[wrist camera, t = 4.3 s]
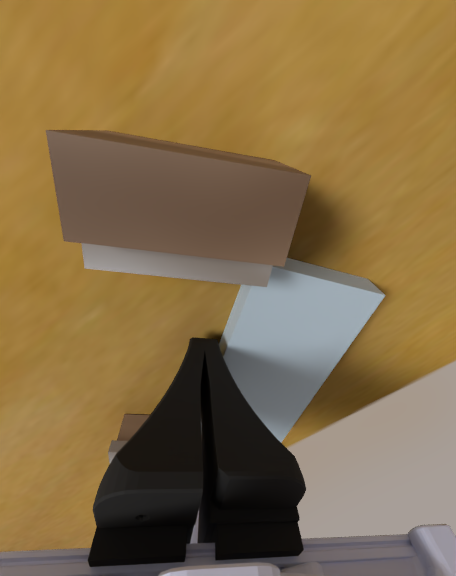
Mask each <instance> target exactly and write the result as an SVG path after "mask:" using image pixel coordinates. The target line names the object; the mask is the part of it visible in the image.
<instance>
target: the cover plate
mask: <svg viewBox="0 0 456 576" xmlns="http://www.w3.org/2000/svg"><path fill="white" fill-rule="evenodd" d="M384 297H385V294H384V293H382V292H381V291H380V290H379V289H378V288H377V287H376V286H375V285H374V284H373V283H372V282H370V281H369V280H368V279H366V278H362V277H358V276H355V275H351V274H347V273H343V272H340V271H336V270H332V269H328V268H324V267H321V266H317V265H313V264H309V263H306V262H302V261H298V260H294V259H290V258H286V262H285V265H284V267H282V266H274V265H273V266H272V270H271V274H270V277H269V281H268V285H267V287H260V286H250V285H241V287H240V290H239V292H238V295H237V298H236V300H235V303H234V306H233V308H232V311H231V314H230V316H229V319H228V322H227V324H226V327H225V329H224V332H223V335H222V337H221V340H220V343H219V347H220V350H221V353H222V355H223V358H224V360H225V363H226V365H227V367H228V369H229V371H230V373H231V375H232V377H233V379H234V381H235V383H236V384H237V386H238V388H239V390H240V391H241V393H242V394H243V396H244V398H245V399H246V401H247V402H248V404H249V405H250V406H251V408H252V409H253V410H254V412H255V413H256V414H257V416H258V417H259V418H260V419H261V421H262V422H263V423H264V424H265V426H266V427H267V428H268V429H269V430H270V431H271V433H272V434H273V435H274V436H275V437H276V438H277V439H278V440H279V441H280V442H282V441H283V439H284V438H285V436H286V435H287V434H288V432H289V431H290V429H291V428H292V427H293V425H294V424H295V422H296V421H297V419H298V418H299V417H300V415H301V414H302V412H303V411H304V410H305V408H306V407H307V405H308V404H309V403H310V401H311V400H312V398H313V397H314V395H315V394H316V393H317V391H318V390H319V388H320V387H321V386H322V384H323V383H324V381H325V380H326V379H327V377H328V376H329V374H330V373H331V371H332V370H333V369H334V367H335V366H336V364H337V363H338V362H339V360H340V359H341V357H342V356H343V355H344V353H345V352H346V350H347V349H348V347H349V346H350V345H351V343H352V342H353V340H354V339H355V338H356V336H357V335H358V333H359V332H360V331H361V329H362V328H363V326H364V325H365V323H366V322H367V321H368V319H369V318H370V316H371V315H372V314H373V312H374V311H375V309H376V308H377V307H378V305H379V304H380V302H381V301H382V299H383V298H384ZM201 435H202V434H201Z"/></svg>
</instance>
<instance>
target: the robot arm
mask: <svg viewBox="0 0 456 576" xmlns="http://www.w3.org/2000/svg"><path fill="white" fill-rule="evenodd" d="M201 434H202V442H201ZM305 491H306V487H305V482H304V478H303V475H302V473H301V470H300V468H299V465H298V463H297V461H296V458H295V456H294V455H293V454H292V453H291V452H290V451H288V449H287V448H286V447H285V446H284V445H283V444H282V443H281V442H280V441H279V440H278V439H277V438H276V437H275V436H274V435H273V434H272V433H271V431H270V430H269V429H268V428H267V427H266V426H265V424H264V423H263V422H262V421H261V419H260V418H259V417H258V416H257V414H256V413H255V412H254V410H253V409H252V408H251V406H250V405H249V404H248V402H247V401H246V399H245V398H244V396H243V394H242V393H241V391H240V390H239V388H238V386H237V384H236V383H235V381H234V379H233V377H232V375H231V373H230V371H229V369H228V367H227V365H226V363H225V360H224V358H223V355H222V353H221V350H220V347H219V344H218V341H217V340H216V339H205V338H191V339H190V342H189V346H188V350H187V353H186V355H185V358H184V360H183V362H182V364H181V367H180V369H179V371H178V373H177V374H176V376H175V378H174V380H173V382H172V384H171V385H170V387H169V389H168V390H167V392H166V393H165V395H164V396H163V398H162V399H161V401H160V402H159V404H158V405H157V407H156V408H155V409H154V411H153V412H152V413H151V415H150V416H149V417H148V418H147V420H146V421H145V422H144V423H143V425H142V426H141V427H140V428H139V429H138V431H137V432H136V433H135V434H134V435H133V436H132V437H131V438H130V440H129V441H128V442H127V443H126V444H125V445H124V446H123V447H122V448H121V449H120V450H119V451H118V452H117V453H116V454H115V456H114V458H113V460H112V461H111V463H110V465H109V467H108V469H107V471H106V472H105V474H104V476H103V479H102V481H101V483H100V486H99V488H98V491H97V495H96V498H95V502H94V505H93V513H94V517H95V521H96V525H97V528H96V531H95V535H94V539H93V542H92V546H91V548H78V549H55V550H31V551H8V552H0V576H456V536H455V535H454V533H453V531H452V530H451V528H450V526H449V525H446V524H437V525H420V526H417V527H415V528H413V529H412V530H410V531H409V532H408V534H403V535H380V536H356V537H334V538H310V539H301V535H300V531H299V527H298V521H299V514H298V510H297V505H298V503H299V502H300V500H301V499H302V497H303V496H304V493H305Z"/></svg>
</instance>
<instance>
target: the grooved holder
mask: <svg viewBox="0 0 456 576" xmlns="http://www.w3.org/2000/svg"><path fill="white" fill-rule="evenodd" d="M46 134H47V140H48V147H49V153H50V159H51V165H52V171H53V177H54V183H55V189H56V196H57V202H58V208H59V214H60V220H61V226H62V232H63V239H64V241H68V242H76V243H82V250H83V258H84V266H85V268H86V269H96V270H106V271H115V272H125V273H135V274H144V275H154V276H164V277H173V278H183V279H192V280H202V281H212V282H221V283H231V284H241V285H250V286H260V287H267V285H268V281H269V277H270V274H271V270H272V266H273V265H274V266H282V267H284V265H285V262H286V258H287V255H288V252H289V248H290V245H291V242H292V238H293V235H294V231H295V228H296V225H297V221H298V218H299V215H300V211H301V208H302V205H303V201H304V198H305V194H306V191H307V188H308V184H309V181H310V178H311V175H308V174H306V173H303V172H301V171H299V170H296V169H294V168H291V167H289V166H287V165H284V164H282V163H280V162H277V161H275V160H270V159H264V158H258V157H253V156H247V155H241V154H236V153H230V152H224V151H219V150H213V149H207V148H202V147H196V146H191V145H185V144H179V143H174V142H168V141H162V140H157V139H151V138H145V137H140V136H134V135H128V134H123V133H117V132H111V131H89V130H46ZM149 416H150V415H132V414H124V418H123V421H122V425H121V428H120V432H119V435H118V439H117V441H112V442H111V445H110V448H109V452H108V454H109V462H110V463H111V461H112V460H113V458H114V456H115V454H116V453H117V452H118V451H119V450H120V449H121V448H122V447H123V446H124V445H125V444H126V443H127V442H128V441H129V440H130V438H131V437H132V436H133V435H134V434H135V433H136V432H137V431H138V429H139V428H140V427H141V426H142V425H143V423H144V422H145V421H146V420H147V418H148V417H149ZM201 442H202V435H201Z"/></svg>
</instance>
